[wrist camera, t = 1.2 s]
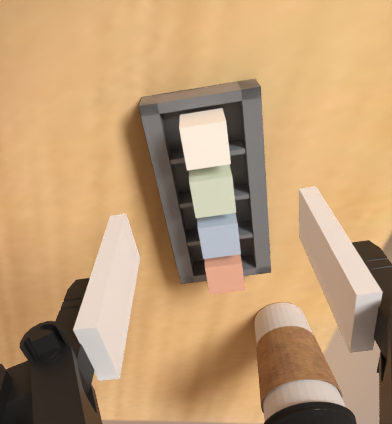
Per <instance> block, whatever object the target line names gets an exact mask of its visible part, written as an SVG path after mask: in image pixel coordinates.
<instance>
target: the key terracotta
mask: <svg viewBox="0 0 392 424" xmlns="http://www.w3.org/2000/svg"><path fill="white" fill-rule="evenodd" d="M204 260H205V271H206V276H207V282H208V287H209V292H210V294H217V293H225V292H233V291H241V290H245V286H244V277H243V268H242V261H241V256H240V254H239V255H231V256H224V257H216V258H209V259H204Z"/></svg>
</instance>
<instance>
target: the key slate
mask: <svg viewBox="0 0 392 424" xmlns="http://www.w3.org/2000/svg"><path fill="white" fill-rule="evenodd" d="M197 224H198V233H199V238H200V244H201V249H202V255H203V259H209V258H216V257H224V256H231V255H239V254H241V250H240V241H239V232H238V223H237V218H236V214H235V213H231V214H224V215H216V216H209V217H202V218H197Z"/></svg>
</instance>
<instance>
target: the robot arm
mask: <svg viewBox="0 0 392 424" xmlns="http://www.w3.org/2000/svg"><path fill="white" fill-rule="evenodd" d="M299 238H300V240H301V242H302V245H303V247H304V249H305V251H306V254H307V256H308V258H309V261H310V263H311V265H312V267H313V270H314V272H315V274H316V277H317V279H318V281H319V283H320V286H321V288H322V290H323V292H324V295H325V297H326V299H327V302H328V304H329V306H330V308H331V311H332V313H333V315H334V318H335V320H336V322H337V324H338V327H339V329H340V331H341V333H342V336H343V338H344V340H345V342H346V345H347V347H348V349H349V352H358V351H368V350H373V346H374V340H375V341H376V343H377V344H378V346H379V348H380V350H381V352H380V358H379V363H378V368H377V373H379V380H380V381H379V383H380V384H379V385H380V387H379V390H380V391H379V392H380V393H379V394H380V396H379V398H380V424H392V264H391V262H390V261H389V260H388V259H387V257H386V255H385V254H384V253H383V251H382V250H381V248H379V247H378V246H376V245H375V244H373V243H372V242H370V241H369V240H368V241H360V242H353V243H351V241H350V239H349V238H348V236H347V235H346V233H345V231H344V230H343V228H342V227H341V225H340V224H339V222H338V220H337V219H336V217H335V216H334V214H333V212H332V211H331V209H330V208H329V206H328V204H327V203H326V201H325V200H324V198H323V197H322V195H321V193H320V192H319V190H318V189H317V187H316V186H315V187H308V188H301V189H299ZM139 261H140V257H139V253H138V250H137V247H136V244H135V240H134V237H133V234H132V231H131V227H130V224H129V221H128V218H127V214H119V215H112V216H110V218H109V221H108V225H107V228H106V231H105V234H104V237H103V240H102V243H101V246H100V249H99V252H98V255H97V258H96V261H95V264H94V267H93V270H92V274H91V277H90V278H86V279H79V280H76V281H75V282H74V283H73V284H72V285H71V286H70V288H69V289H68V290H67V293H66V296H65V298H64V302H63V303H62V306H61V310H60V311H59V314H58V316H57V319H56V321H47V322H43V323H40V324H38V325H36V326H34V327H33V328H31V329H30V330H29V331H28V332H27V333H26V334H25V335H24V337H23V338H22V340H21V342H20V349H21V350H22V352H23V353H24V355H25V356H26V358H27V359H28V361H26V362H24V363H21V364H18V365H16V366H13V367H11V368H8V369H5V368H4V366H3V365H2V364H0V424H102V420H101V416H100V412H99V407H98V403H97V399H96V394H95V390H94V388H93V386H92V384H91V383H92V378H93V374H94V373H95V375H96V377H97V379H98V380H99V381H103V380H112V379H120V374H121V368H122V362H123V356H124V350H125V344H126V338H127V332H128V326H129V320H130V315H131V309H132V303H133V297H134V291H135V285H136V279H137V273H138V267H139Z"/></svg>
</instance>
